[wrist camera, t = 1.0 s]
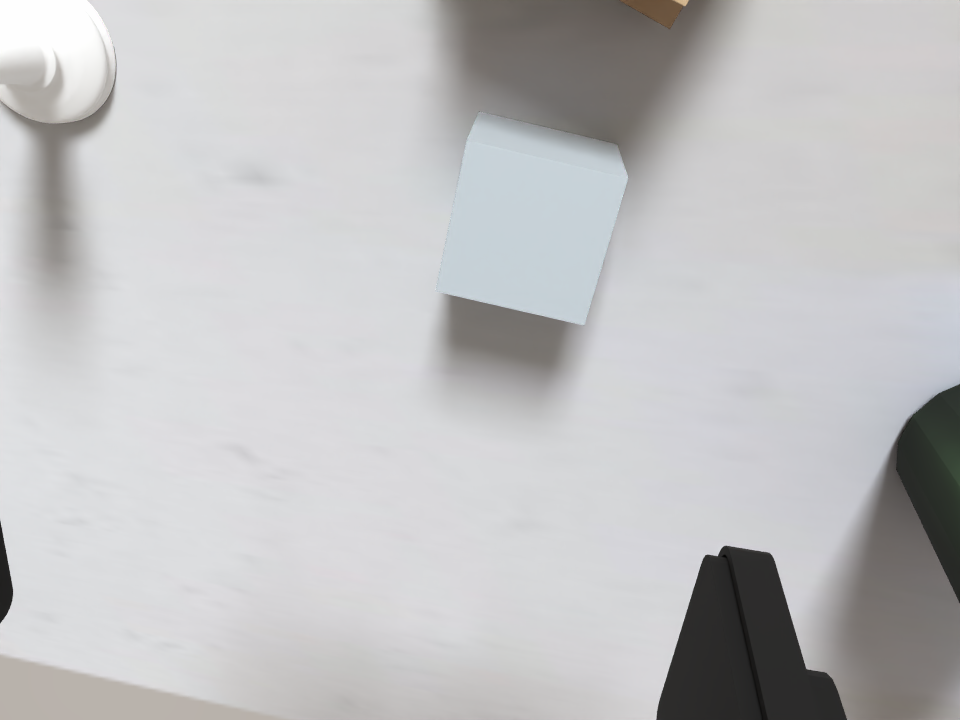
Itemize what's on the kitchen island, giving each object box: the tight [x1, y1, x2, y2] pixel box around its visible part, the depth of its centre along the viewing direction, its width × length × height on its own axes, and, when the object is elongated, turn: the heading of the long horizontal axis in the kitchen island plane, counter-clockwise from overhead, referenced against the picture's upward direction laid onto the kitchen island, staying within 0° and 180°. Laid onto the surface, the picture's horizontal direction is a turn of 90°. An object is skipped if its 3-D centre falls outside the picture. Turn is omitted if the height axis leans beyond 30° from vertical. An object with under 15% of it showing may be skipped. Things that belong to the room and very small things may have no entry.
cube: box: [435, 111, 628, 325], centre depth 29 cm, size 5×5×5 cm
